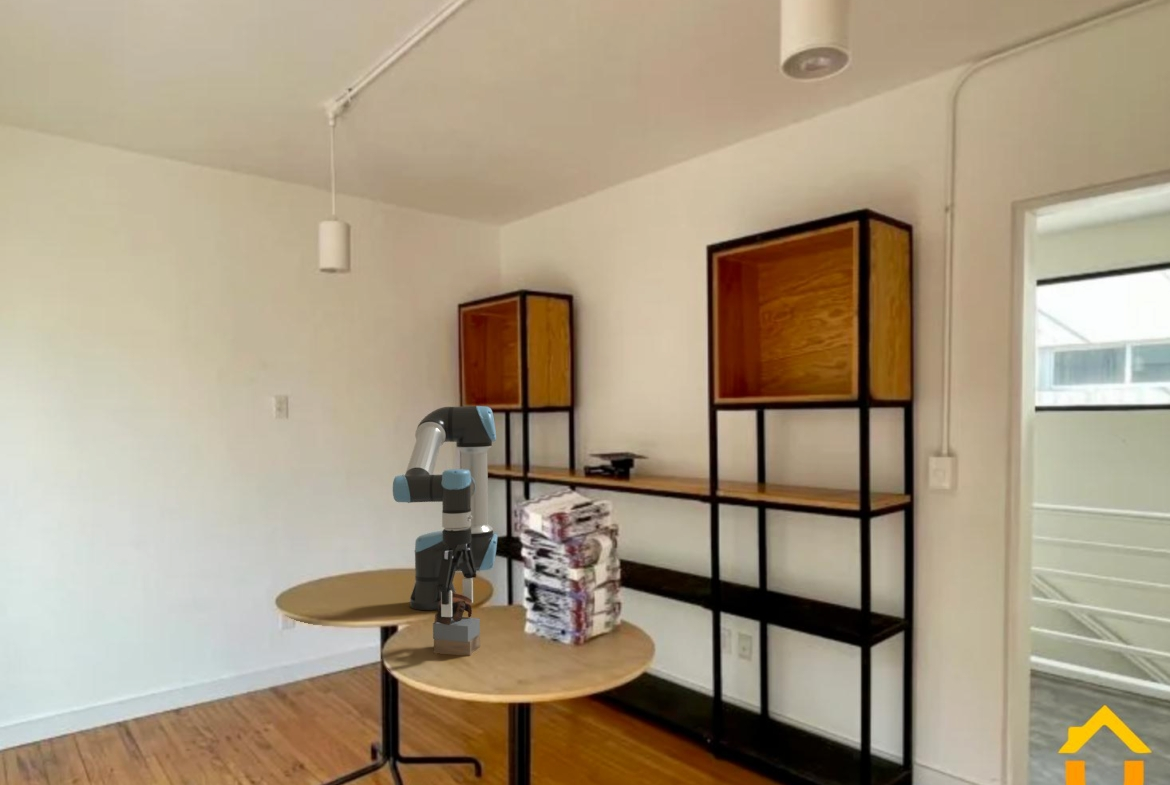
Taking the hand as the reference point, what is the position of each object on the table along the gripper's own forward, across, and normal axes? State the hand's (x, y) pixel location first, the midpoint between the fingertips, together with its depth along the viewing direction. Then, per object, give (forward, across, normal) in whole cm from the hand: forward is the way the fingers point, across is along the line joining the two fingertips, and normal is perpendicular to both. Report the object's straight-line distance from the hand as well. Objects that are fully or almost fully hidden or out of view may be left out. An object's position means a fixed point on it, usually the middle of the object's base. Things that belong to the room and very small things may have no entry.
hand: (457, 609), depth 181 cm
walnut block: (+11, 0, 0) cm, 11 cm away
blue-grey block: (+7, 0, 0) cm, 7 cm away
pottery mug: (+3, 0, +1) cm, 3 cm away
